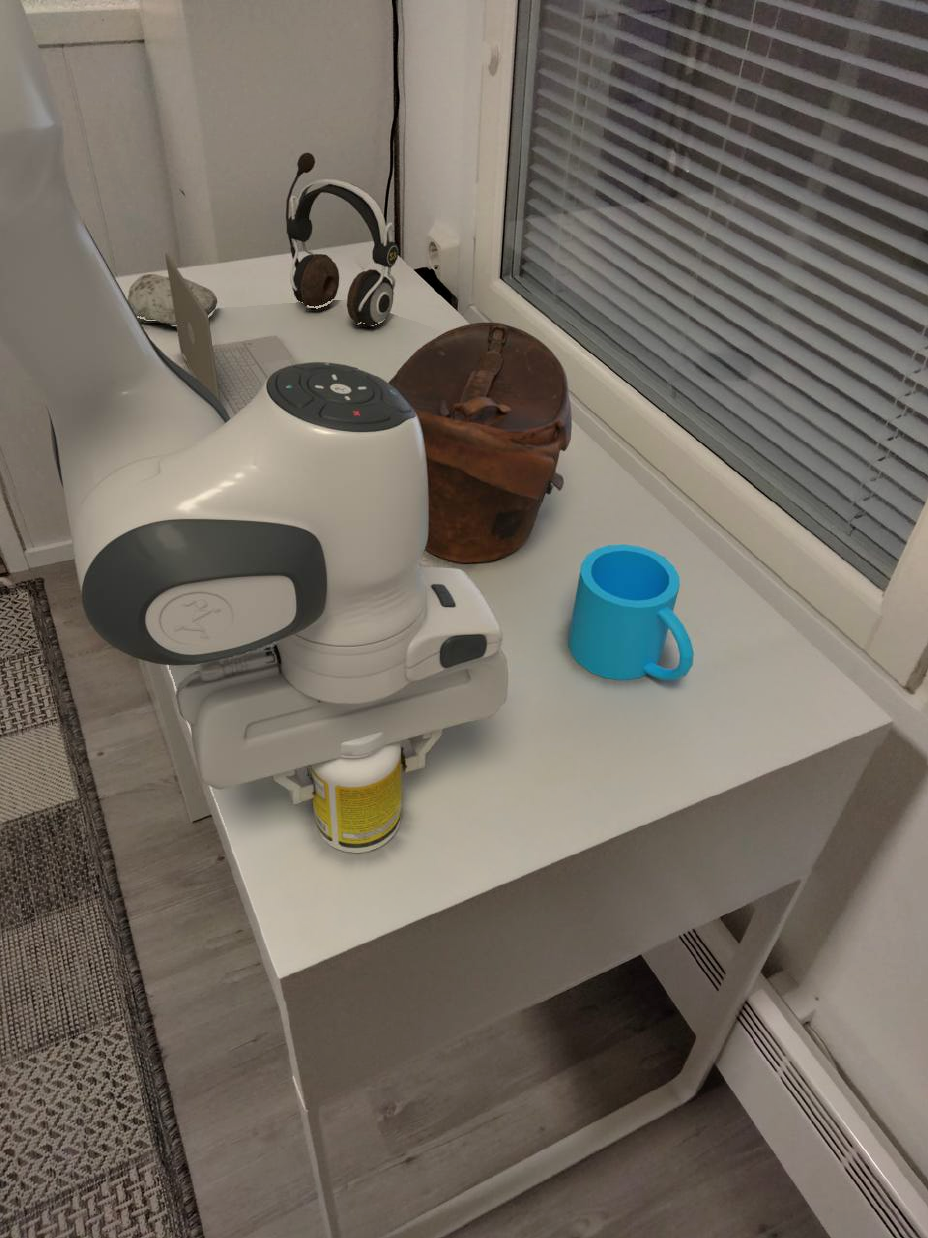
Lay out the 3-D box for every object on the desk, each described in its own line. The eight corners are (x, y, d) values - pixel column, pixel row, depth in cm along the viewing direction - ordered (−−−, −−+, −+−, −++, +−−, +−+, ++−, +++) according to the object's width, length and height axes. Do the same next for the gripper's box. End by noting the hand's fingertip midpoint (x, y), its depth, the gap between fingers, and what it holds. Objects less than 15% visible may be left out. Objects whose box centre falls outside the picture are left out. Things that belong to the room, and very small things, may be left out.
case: (419, 608, 85) (423, 436, 73) (354, 488, 99) (349, 326, 87) (594, 570, 91) (625, 403, 79) (510, 461, 104) (525, 304, 92)
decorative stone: (224, 301, 131) (220, 265, 127) (213, 336, 123) (208, 299, 120) (133, 299, 130) (127, 263, 127) (117, 334, 122) (109, 296, 119)
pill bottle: (416, 804, 69) (418, 701, 62) (375, 869, 65) (372, 767, 58) (342, 773, 71) (336, 670, 64) (298, 835, 67) (286, 732, 59)
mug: (549, 637, 83) (560, 565, 78) (615, 604, 87) (631, 533, 82) (645, 722, 76) (664, 649, 71) (713, 681, 80) (736, 610, 75)
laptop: (325, 405, 111) (319, 298, 102) (220, 426, 107) (204, 315, 98) (277, 340, 123) (268, 239, 114) (180, 356, 118) (163, 252, 110)
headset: (274, 308, 130) (260, 153, 116) (309, 290, 135) (300, 139, 122) (376, 343, 124) (374, 182, 110) (408, 322, 129) (410, 166, 115)
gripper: (180, 712, 50) (213, 860, 60) (527, 627, 57) (509, 773, 66) (161, 636, 55) (195, 785, 64) (486, 564, 61) (474, 709, 70)
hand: (357, 778), depth 65 cm, fingers open, 6 cm apart
